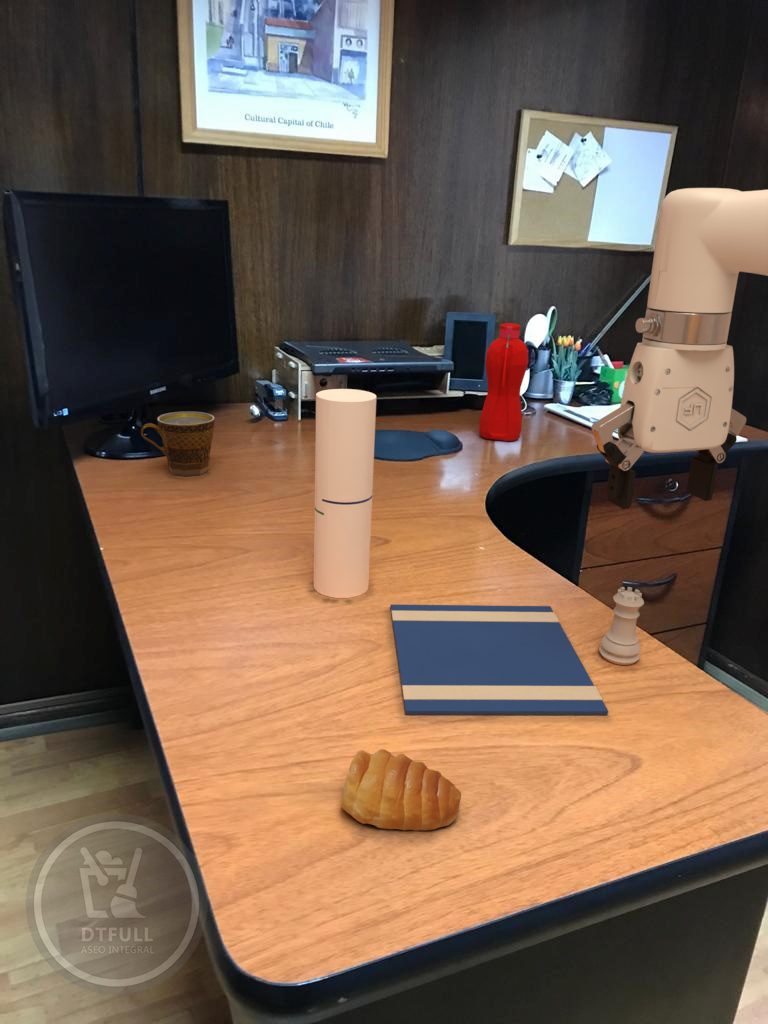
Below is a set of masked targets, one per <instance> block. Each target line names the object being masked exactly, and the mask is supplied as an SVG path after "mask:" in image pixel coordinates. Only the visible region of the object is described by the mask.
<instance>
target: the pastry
mask: <svg viewBox="0 0 768 1024" xmlns="http://www.w3.org/2000/svg"><path fill="white" fill-rule="evenodd" d="M348 768H349V769H348V774H347V775H346V780H345V783H344V787H343V791H342V794H341V799H340V801H339V804H340V807H341V808H342V810H344V811H345V812H346V813H347V814H348V815H350V816H351V817H352V818H353V819H355V820H356V821H357V822H359V823H361V824H362V825H364V824H368V825H373V826H375V827H376V828H378V829H385V830H386V829H387V830H401V831H404V832H406V831H413V832H416V831H430V830H436V829H439V828H443V827H449V826H450V825H451V824H452V823H454V822H455V821H456V820H457V818H458V814H459V811H460V804H461V799H462V792H461V791H460V789H459V788H457V787H456V785H455V784H454V783H453V782H452V781H451V780H450V779H448V778H446V777H445V776H443V775H442V773H441V772H440V771H439V770H435V769H430V768H429V767H428V766H427V765H426V764H425V763H424V762H423V761H414V760H413V759H411V758H410V757H408V756H407V755H405V754H404V753H399V754H396V755H393V754H392V753H391V752H389V750H386V749H383V748H381V749H379V750H377V751H376V752H374V753H369V752H367V751H365V750H363V749H360V750H358V751H357V752H356V754H355V755H354V757H352V760H351V762H350V764H349V767H348Z"/></svg>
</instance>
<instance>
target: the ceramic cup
mask: <svg viewBox="0 0 768 1024" xmlns="http://www.w3.org/2000/svg"><path fill="white" fill-rule="evenodd" d="M156 421H157V424H154V423H152V422H151V423H150V422H149V423H145V424H144V425H143V426H142V427H141V429H140V435H141V437H142V438H143V439H144V440H145V441H147V442H148V443H149V444H152V445H153V446H155V447H156V448H157V449H158V450H159V451H161V452H162V454H163V455H164V456H165V457H166V460H167V465H168V468H169V472H170V473H171V475H173V476H179V477H184V478H187V477H196V476H201V475H203V474H205V473H207V472H208V470H209V464H210V458H211V457H210V456H211V451H212V441H213V437H214V431H215V421H216V418H215V416H214V415H212V414H210V413H207V412H203V411H202V412H201V411H189V410H188V411H174V412H168V413H164V414H163V413H162V414H160V415H159V416H157V418H156ZM147 428H152V429H154V430H155V431H156V432H157V433H158V434H159V436H160V437H161V440H162V444H163V446H159V445H158V444H157V443H156V442H154V441H153V440H151V439H150V438H148V437H146V436H145V434H144V430H145V429H147Z"/></svg>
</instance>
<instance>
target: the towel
mask: <svg viewBox="0 0 768 1024" xmlns="http://www.w3.org/2000/svg"><path fill="white" fill-rule="evenodd" d="M389 609H390V615H391V623H392V629H393V630H392V631H393V636H394V644H395V651H396V657H397V664H398V665H397V666H398V672H399V679H400V686H401V694H402V700H403V707H404V714H405V715H406V716H608V715H609V710H608V708H607V706H606V704H605V702H604V701H603V700H604V699H603V696H602V695H601V693H600V691H599V690H598V688H597V686H596V685H595V684H594V682H593V681H592V679H591V677H590V675H589V673H588V672H587V670H586V668H585V666H584V665H583V663H582V661H581V659H580V657H579V655H578V653H577V652H576V650H575V648H574V647H573V644H572V643H571V641H570V639H569V637H568V636H567V633H566V632H565V630H564V628H563V626H562V625H561V622H560V620H559V618H558V616H557V615H556V612H554V610H553V608H552V607H551V605H485V604H484V605H483V604H481V605H479V604H477V605H476V604H475V605H474V604H473V605H472V604H471V605H469V604H392V603H391V604H390V608H389ZM405 715H404V716H405Z"/></svg>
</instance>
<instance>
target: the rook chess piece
mask: <svg viewBox="0 0 768 1024" xmlns="http://www.w3.org/2000/svg"><path fill="white" fill-rule="evenodd" d="M625 589H626V588H625V587H624V586H621V587H619V588H618V589H617V592H616V593H615V594H614V595H613V596H612V598H613V601H614V602H615V604H616V605H615V607H614V608H613V610H612V612H613V613H614V615H613V620H612V622H611V625H610V628H609V630H607V631H606V632H605V633H606V634H605V635H604V636H602V638H601V640H600V646H599V647H598V651H599V653H600V655H601V656H602V658H603V659H604V660H606V661H608V662H609V663H612V664H615V665H619V666H630V665H633V664H635V663H636V662H637V661H638V660H640V658H641V654H640V652H641V643H640V642H639V637H638V636H637V622H638V620H637V619H639V617H640V615H641V614H640V612H639V609H640V608H641V607H643V606H644V604H645V600H644V598H642V597H643V593H642V592H641V590H639V589H638V588H637V589H634V591H633V587H630V586H627V589H626V590H625Z"/></svg>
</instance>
